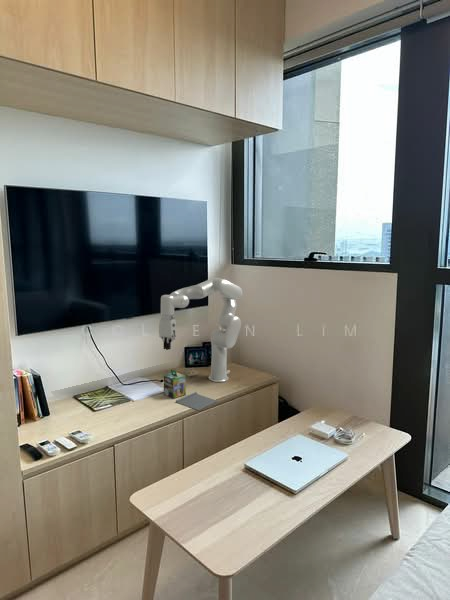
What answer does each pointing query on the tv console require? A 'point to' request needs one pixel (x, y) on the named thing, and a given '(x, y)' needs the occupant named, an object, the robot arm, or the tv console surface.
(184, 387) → the chalk box
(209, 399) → the mat
